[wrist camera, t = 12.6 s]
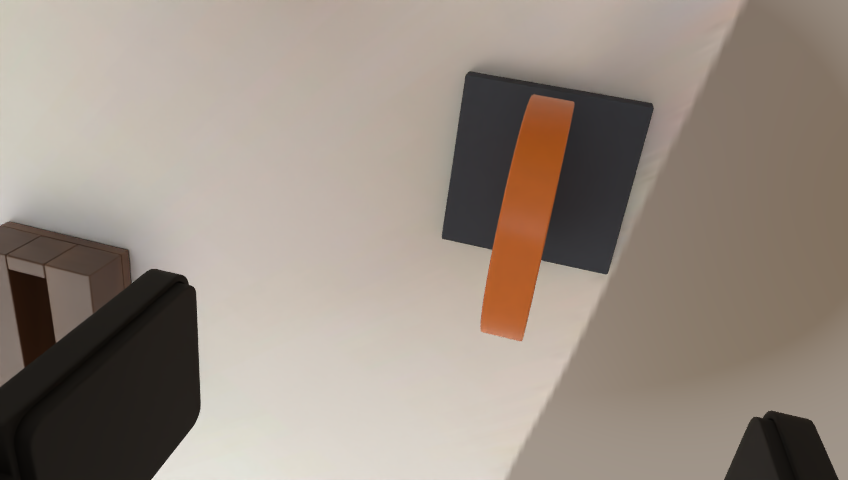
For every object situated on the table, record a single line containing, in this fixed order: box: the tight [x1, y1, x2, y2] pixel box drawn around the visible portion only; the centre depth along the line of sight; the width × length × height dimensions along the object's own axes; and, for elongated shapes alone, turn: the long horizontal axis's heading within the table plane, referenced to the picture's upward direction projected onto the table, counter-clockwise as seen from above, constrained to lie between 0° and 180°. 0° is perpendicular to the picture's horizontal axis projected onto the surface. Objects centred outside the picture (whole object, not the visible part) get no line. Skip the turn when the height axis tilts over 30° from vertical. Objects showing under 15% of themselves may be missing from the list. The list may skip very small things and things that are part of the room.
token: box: [480, 95, 575, 341], centre depth 20 cm, size 1×7×7 cm, turn 173°
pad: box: [442, 72, 654, 274], centre depth 23 cm, size 6×6×1 cm
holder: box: [0, 222, 131, 387], centre depth 30 cm, size 6×9×2 cm, turn 173°
